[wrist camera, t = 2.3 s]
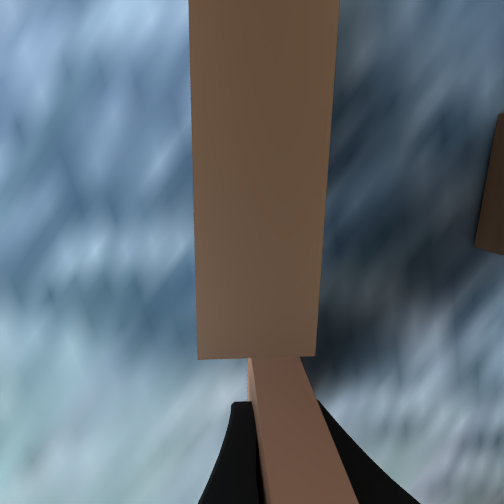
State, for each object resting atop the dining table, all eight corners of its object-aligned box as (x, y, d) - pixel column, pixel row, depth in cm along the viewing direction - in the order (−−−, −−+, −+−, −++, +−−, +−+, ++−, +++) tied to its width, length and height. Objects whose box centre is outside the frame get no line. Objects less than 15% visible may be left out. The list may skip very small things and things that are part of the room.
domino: (264, 106, 10) (342, -40, 3) (261, 247, 11) (315, 356, 4) (213, 104, 10) (187, -52, 3) (215, 247, 11) (197, 359, 4)
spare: (290, 334, 12) (373, 540, 5) (285, 436, 13) (349, 717, 6) (248, 335, 12) (277, 547, 5) (246, 437, 13) (269, 727, 6)
